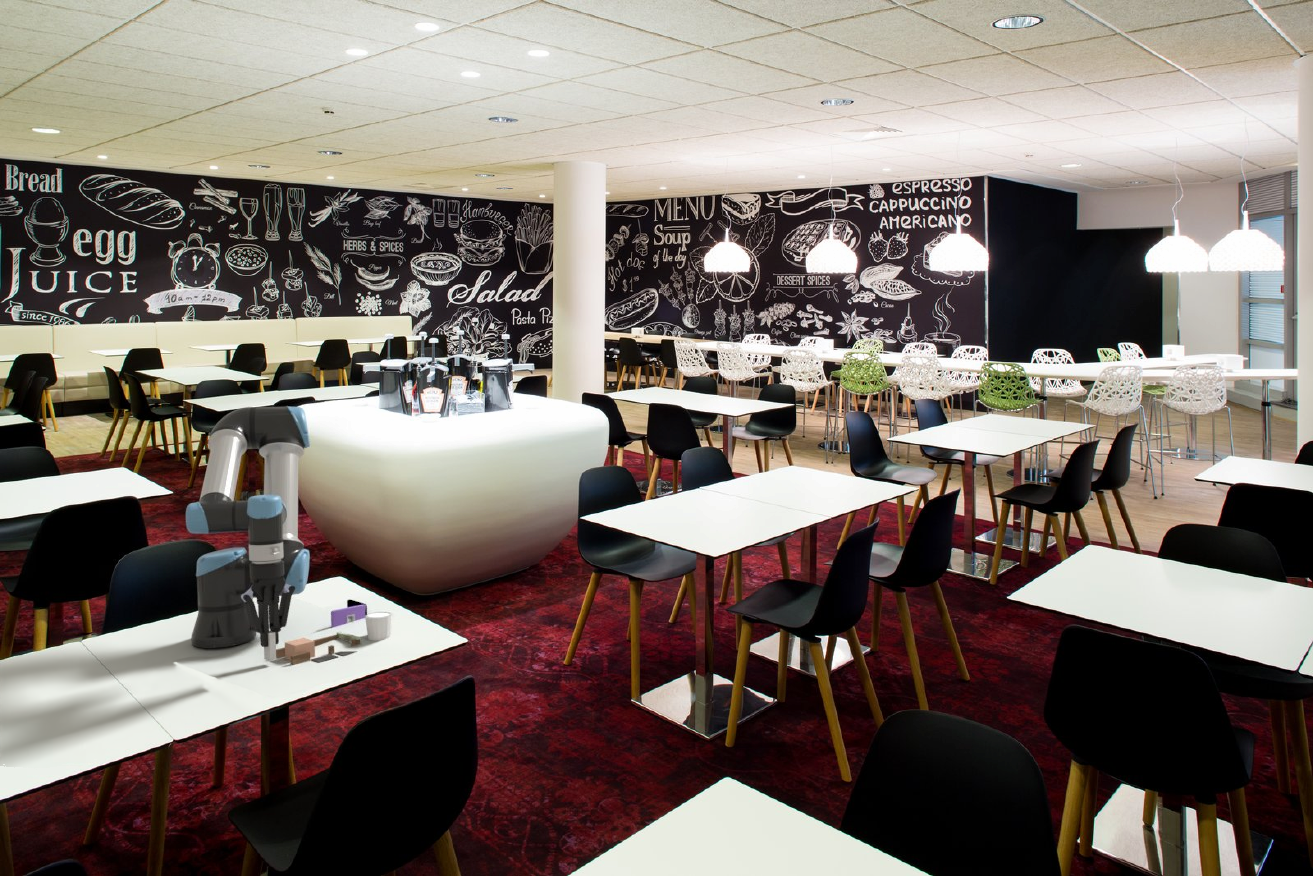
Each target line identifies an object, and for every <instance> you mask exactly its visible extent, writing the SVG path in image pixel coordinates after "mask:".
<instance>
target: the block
mask: <svg viewBox="0 0 1313 876" xmlns="http://www.w3.org/2000/svg"><path fill="white" fill-rule="evenodd" d="M313 640H314V639H313ZM313 640H312V639H309V638H306V637H302V638H297V639H293V640H288V641H285V642H284V647H285V657H284V659H287V660H290V661H291V656H292V655H296V654H300V653H304V652H310V659H313V658H316V646H315V641H313Z"/></svg>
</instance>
